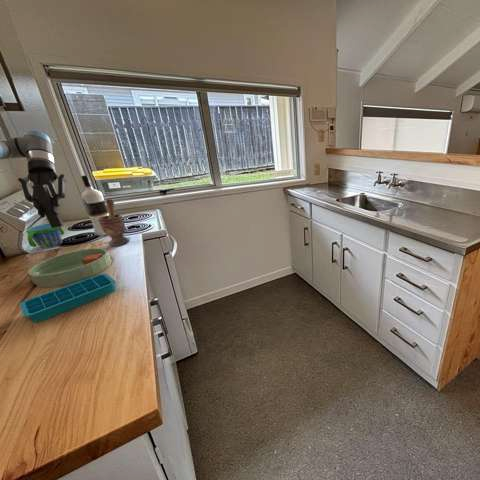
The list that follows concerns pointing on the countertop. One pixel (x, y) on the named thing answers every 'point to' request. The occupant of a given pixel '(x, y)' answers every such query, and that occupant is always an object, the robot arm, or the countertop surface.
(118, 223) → the mortar and pestle
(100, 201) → the vodka
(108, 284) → the ice cube tray
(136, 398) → the countertop surface
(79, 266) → the bowl
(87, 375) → the countertop surface
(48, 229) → the green blue printed package
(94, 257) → the block
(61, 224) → the dark grey bar
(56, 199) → the robot arm
